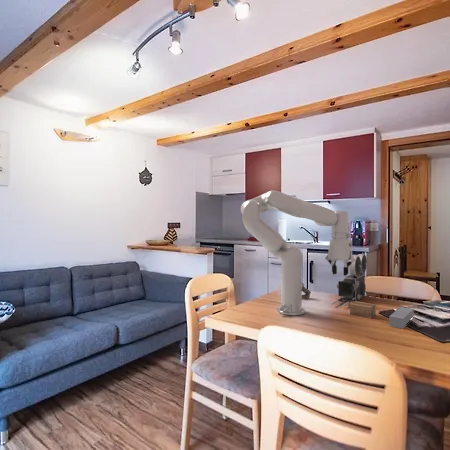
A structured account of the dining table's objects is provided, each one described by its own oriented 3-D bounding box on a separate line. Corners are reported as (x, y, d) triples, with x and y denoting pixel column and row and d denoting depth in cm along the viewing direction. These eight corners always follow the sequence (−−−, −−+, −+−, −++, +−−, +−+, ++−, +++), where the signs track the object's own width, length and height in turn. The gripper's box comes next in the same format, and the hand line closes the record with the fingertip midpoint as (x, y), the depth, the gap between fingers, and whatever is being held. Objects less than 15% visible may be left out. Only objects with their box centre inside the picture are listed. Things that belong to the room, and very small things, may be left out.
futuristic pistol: (287, 306, 179) (279, 290, 179) (312, 295, 177) (303, 278, 177) (288, 307, 176) (279, 291, 177) (312, 296, 174) (304, 279, 175)
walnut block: (370, 319, 139) (370, 307, 139) (350, 315, 145) (349, 304, 145) (375, 315, 144) (375, 304, 144) (355, 311, 150) (355, 301, 150)
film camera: (350, 291, 191) (350, 252, 191) (371, 294, 184) (371, 253, 183) (324, 306, 160) (323, 258, 160) (348, 310, 153) (347, 260, 152)
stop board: (403, 328, 126) (403, 318, 126) (389, 326, 129) (389, 316, 129) (413, 318, 139) (413, 309, 139) (401, 315, 142) (401, 307, 142)
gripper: (360, 236, 148) (361, 275, 149) (326, 235, 160) (326, 271, 160) (354, 237, 143) (355, 277, 143) (319, 236, 154) (319, 273, 154)
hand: (340, 274), depth 152 cm, fingers open, 4 cm apart
